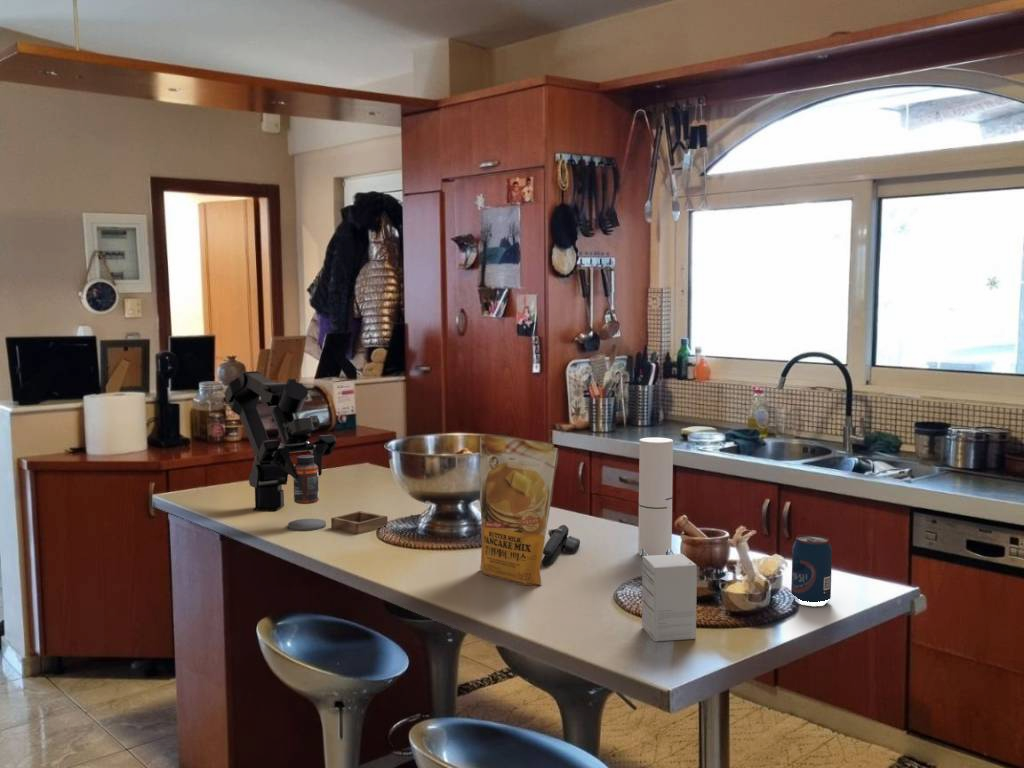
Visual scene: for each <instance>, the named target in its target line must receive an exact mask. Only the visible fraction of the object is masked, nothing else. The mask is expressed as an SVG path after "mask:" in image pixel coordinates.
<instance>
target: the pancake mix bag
mask: <svg viewBox="0 0 1024 768" xmlns="http://www.w3.org/2000/svg"><path fill="white" fill-rule="evenodd" d="M478 445H479V507H480V522H481V524H480V525H481V527H480V528H481V529H480V530H481V531H480V532H481V551H480V552H481V553H480V555H481V556H480V564H479V565H480V566H479V570H481V571H482V572H483V574H484V575H486V576H489V577H493V578H496V579H500V580H504V581H508V582H512V583H514V584H518V585H524V586H531V585H537V586H542V585H543V584H542V577H541V572H540V570H541V565H542V563H541V561H542V559H543V555H544V554H543V550H544V547H545V544H546V543H545V542H546V533H547V527H548V524H549V523H548V522H549V517H550V508H551V505H552V501H553V493H554V487H555V486H554V484H555V477H556V472H557V469H558V468H557V467H558V464H559V458H560V457H559V456H560V455H559V448H558V447H556V446H555V445H554V443H552V442H548V441H543V440H542V441H541V440H534V439H533V440H532V439H526V438H525V439H524V438H521V437H515V436H508V435H507V436H506V435H497V434H496V435H495V434H483V435H481V436H478Z"/></svg>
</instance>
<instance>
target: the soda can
mask: <svg viewBox="0 0 1024 768" xmlns="http://www.w3.org/2000/svg"><path fill="white" fill-rule="evenodd" d="M791 557H792V559H791V589H790V591H791V593H792V594H793V595H794V596H796V597H797V598H798V599H800V600H802V601H807V602H808V601H809V602H818V601H819V602H820V601H825V600H828V599H830V600H831V598H832V593H831V592H832V565H833V564H832V562H833V561H832V560H833V559H832V557H833V548H832V546H831V544H830V539H829V538H828V537H826V536H822V535H818V534H799V535H797V536H796V537H795V541H794V543H793V545H792V553H791ZM791 593H790V594H791Z"/></svg>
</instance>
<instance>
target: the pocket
mask: <svg viewBox="0 0 1024 768" xmlns="http://www.w3.org/2000/svg"><path fill="white" fill-rule="evenodd" d="M330 521H331V524H330V525H331V526H330V527H331V529H332V530H337V531H342V532H347V533H350V534H351V533H352V534H357V535H361V534H364V533H368V532H372V531H376V529H377V530H379V529H378V528H380V527H382V526H386V525H388V516H387V515H383V514H377V513H371V512H365V511H361V510H360V511H355V512H351V513H347V514H343V515H338V516H335V517H331V518H330ZM388 526H389V525H388ZM380 529H381V528H380Z"/></svg>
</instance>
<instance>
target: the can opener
mask: <svg viewBox="0 0 1024 768" xmlns="http://www.w3.org/2000/svg"><path fill="white" fill-rule="evenodd" d="M547 534H548V536H549V538H548V540H547V542H546V543H545V544H544V550H543V555H544V556H542V560H541V565H542V566H544V567H549V566H552V565H553V564H554V562H555V561H556V560H557V558H558V556H559V554H560V553H561V552H562V551H563V553H565V554H576V553H577V552H578V550H579V548H580V545H581V540H580V539H579V538H577V537H574V536H572V535H569V527H568V526H566V524H561V525H560V526H558V527H557V528H555V529H548V533H547ZM568 535H569V536H568Z"/></svg>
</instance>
